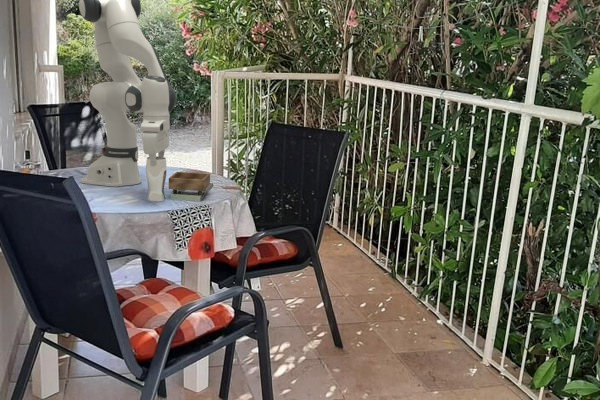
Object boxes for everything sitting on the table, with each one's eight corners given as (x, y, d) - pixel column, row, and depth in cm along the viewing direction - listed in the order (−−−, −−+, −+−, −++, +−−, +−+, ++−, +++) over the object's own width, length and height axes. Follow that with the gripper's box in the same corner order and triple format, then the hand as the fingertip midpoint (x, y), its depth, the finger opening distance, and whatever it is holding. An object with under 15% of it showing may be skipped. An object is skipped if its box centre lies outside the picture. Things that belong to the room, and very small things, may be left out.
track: (170, 199, 215) (170, 194, 214) (186, 183, 241) (186, 179, 241) (200, 201, 215) (200, 195, 214) (213, 185, 241) (213, 180, 241)
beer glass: (170, 200, 213) (170, 158, 210) (152, 203, 208) (152, 160, 205) (159, 196, 218) (159, 155, 215) (142, 199, 213) (142, 157, 210)
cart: (168, 195, 215) (168, 178, 214) (176, 187, 228) (176, 171, 226) (203, 197, 215) (203, 180, 214) (209, 189, 228) (210, 173, 226)
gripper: (155, 121, 217) (156, 159, 220) (138, 126, 197) (139, 168, 200) (172, 121, 217) (173, 159, 220) (157, 127, 197) (158, 169, 200)
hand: (157, 164), depth 210 cm, fingers open, 8 cm apart
